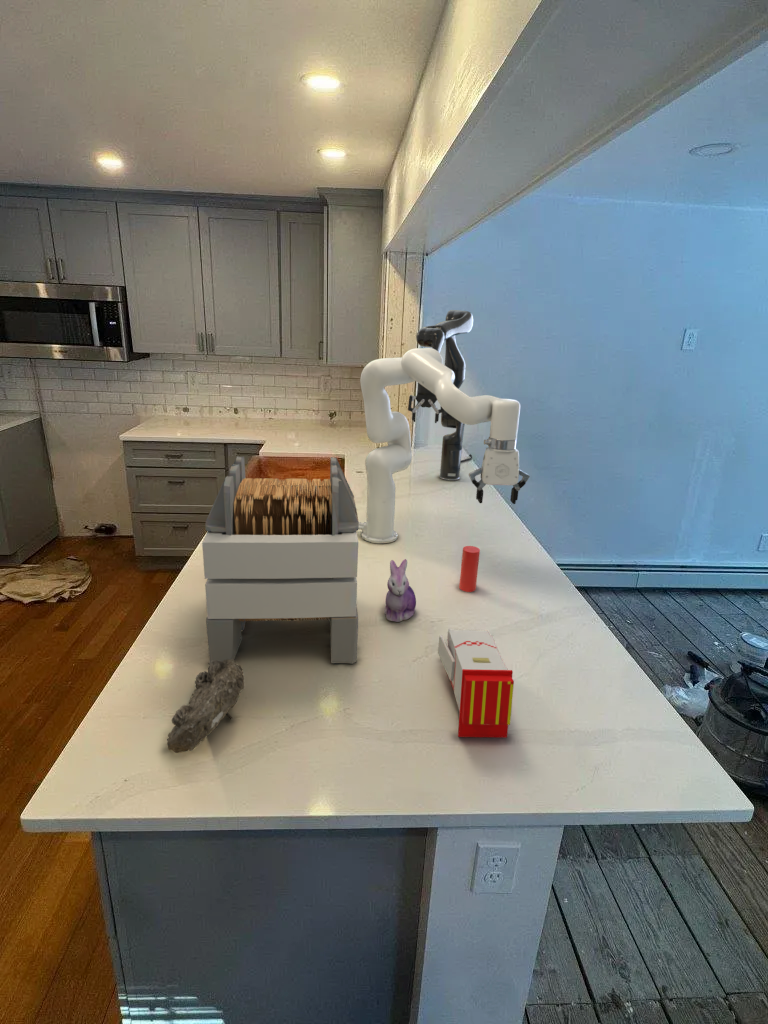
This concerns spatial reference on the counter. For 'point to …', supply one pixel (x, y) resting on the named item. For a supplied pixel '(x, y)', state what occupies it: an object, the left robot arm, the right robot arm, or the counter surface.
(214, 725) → the fossil
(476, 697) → the toy
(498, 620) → the counter surface
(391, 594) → the figurine
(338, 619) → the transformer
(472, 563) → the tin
